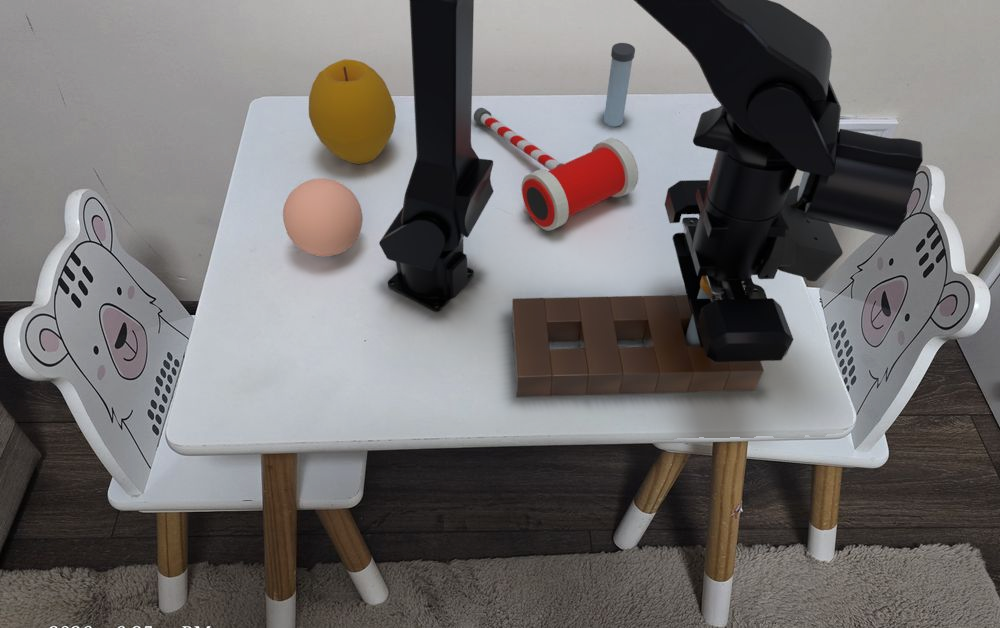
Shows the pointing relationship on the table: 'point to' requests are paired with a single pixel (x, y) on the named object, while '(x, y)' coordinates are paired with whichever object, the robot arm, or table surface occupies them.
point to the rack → (616, 348)
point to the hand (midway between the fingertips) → (701, 329)
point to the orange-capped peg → (691, 333)
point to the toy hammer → (569, 176)
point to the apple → (352, 111)
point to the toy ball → (322, 217)
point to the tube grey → (618, 83)
